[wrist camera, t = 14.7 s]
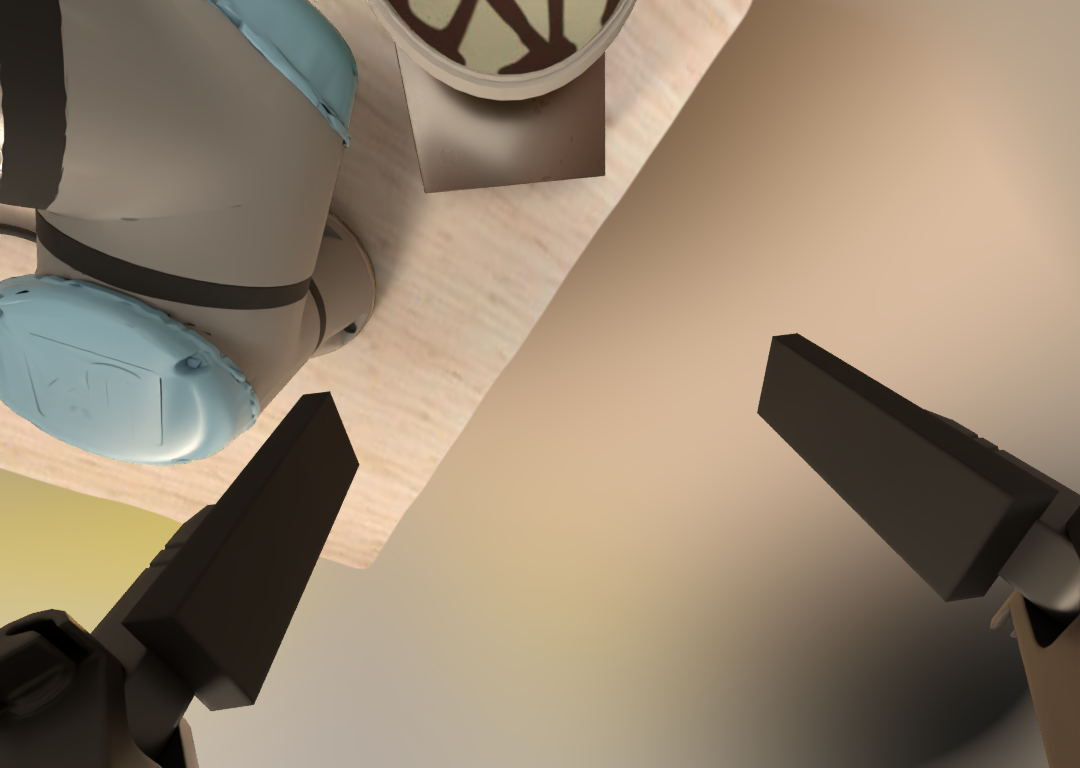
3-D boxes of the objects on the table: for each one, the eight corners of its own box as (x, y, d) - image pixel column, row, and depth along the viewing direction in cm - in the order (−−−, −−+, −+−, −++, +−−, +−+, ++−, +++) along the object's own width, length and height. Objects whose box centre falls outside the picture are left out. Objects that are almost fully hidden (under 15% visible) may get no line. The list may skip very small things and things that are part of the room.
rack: (444, 182, 38) (424, 193, 27) (404, -46, 30) (355, -151, 20) (575, 169, 38) (605, 175, 28) (567, -59, 31) (604, -168, 20)
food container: (361, 58, 23) (281, 4, 15) (381, -85, 21) (299, -253, 12) (560, 148, 27) (591, 146, 18) (600, 33, 24) (659, -34, 15)
